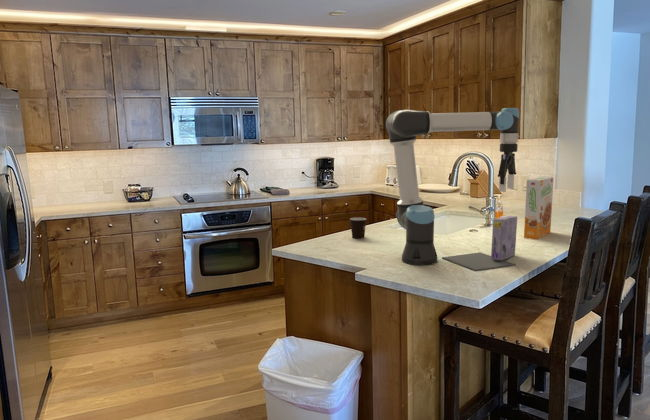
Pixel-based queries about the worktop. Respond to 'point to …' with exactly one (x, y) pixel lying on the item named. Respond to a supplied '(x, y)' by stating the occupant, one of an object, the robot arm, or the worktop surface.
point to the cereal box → (538, 207)
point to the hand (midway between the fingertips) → (506, 190)
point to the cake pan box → (504, 237)
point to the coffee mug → (358, 227)
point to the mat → (477, 261)
